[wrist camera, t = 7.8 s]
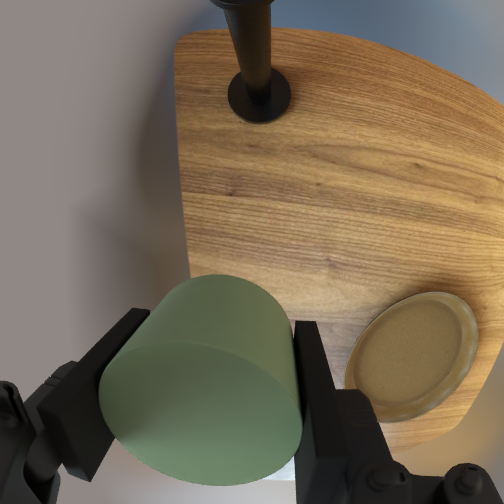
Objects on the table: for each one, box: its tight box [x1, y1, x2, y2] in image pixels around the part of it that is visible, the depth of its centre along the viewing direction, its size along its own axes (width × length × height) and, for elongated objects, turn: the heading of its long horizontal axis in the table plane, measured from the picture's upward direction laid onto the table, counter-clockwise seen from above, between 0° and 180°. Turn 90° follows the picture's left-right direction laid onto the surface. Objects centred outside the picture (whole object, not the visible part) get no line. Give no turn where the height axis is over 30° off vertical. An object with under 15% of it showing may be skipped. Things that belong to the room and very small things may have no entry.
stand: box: [210, 0, 291, 124], centre depth 25 cm, size 8×8×26 cm
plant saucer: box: [343, 292, 478, 423], centre depth 42 cm, size 24×24×3 cm
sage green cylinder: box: [98, 275, 304, 486], centre depth 10 cm, size 6×6×5 cm
